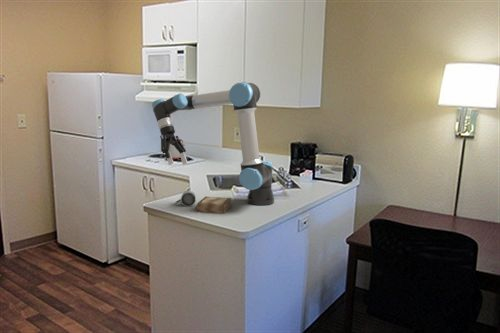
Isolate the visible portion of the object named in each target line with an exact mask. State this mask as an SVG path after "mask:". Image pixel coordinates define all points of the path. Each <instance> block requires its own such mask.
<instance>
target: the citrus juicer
mask: <svg viewBox="0 0 500 333" xmlns="http://www.w3.org/2000/svg"><path fill="white" fill-rule="evenodd" d="M179 140H180V142H181V143H182V145H183V146H184V147H185V146H186V144H184V140H183V139H181V138H179ZM169 151H170V153H171V156H172V159H179V158H180V155H179V154H180V153H179V151H178V150H177V149H176V148H175V146H174V145H172V144H170V147H169ZM169 151H168V152H169ZM179 160H180V159H179Z"/></svg>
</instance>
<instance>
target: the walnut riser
mask: <svg viewBox="0 0 500 333" xmlns="http://www.w3.org/2000/svg"><path fill="white" fill-rule="evenodd" d="M231 206H232V198H230V197H219V196H217V197H216V196H204V197H203V198H202V199H201V200H200V201H198V202H197V203H196V212H200V213H212V214H226V213H227V211H228V210H229V208H231Z"/></svg>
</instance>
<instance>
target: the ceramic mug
mask: <svg viewBox="0 0 500 333" xmlns="http://www.w3.org/2000/svg"><path fill="white" fill-rule="evenodd" d="M196 197H197V196H196V194H195V192H193V191H192V190H184V192H183V193H182V195H181V197H180V199H178V200H177V201H175V202H174V203H175V205H176V206H180V205H183V206H184V207H187V208H190V207H192V206H194V205H195V204H196Z"/></svg>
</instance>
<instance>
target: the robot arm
mask: <svg viewBox="0 0 500 333" xmlns="http://www.w3.org/2000/svg"><path fill="white" fill-rule="evenodd" d="M260 98H261V90H260V88H259V87H258V86H257V85H256V84H255V83H252V82H246V81H241V82H236V83H234V85H232V86H231V87H230V89H228V90H222V91H221V90H220V91H215V92H209V93H201V94H194V95H187V96H185V95H184V94H183V93H178V94H175V95H173V96H171V97H170V98H168V99H166V100H165V99H164V98H160V99H157V100H154V101H153V102H152V103H151V107H152V111H153V114H154V117H155V119H156V122H157V126H158V129H159V133H160V136H159V137H160V151H161V152H162V154H165V158H166V160H167V163H168V164H167V165H169V166H171V165H173V164H174V163H175V162H174V160H173V159H172V156H171V153H170V151H169V147H170V144H172V145H174V146H175V148H176V149H177V150H178V151H179V153H180V154H179V155H180V158H181V159H180V160H181V162H182V165H183V166H185V165H187V164H188V160H187V157H186V154H185V153H186V152H187V150H186V148H185V146H183V145H182V143H181V142H180V140H179V139H180V138H179V136H178V135H176V136H175V132H176V130H175V128H174V126H173V125H174V124H173V121H172V119H171V114H174V113H175V112H178V111H191V110H196V109H204V108H210V107H213V108H214V107H219V106H227V105H232V106H233V111H234V112H235V113H236V115H237V120H238V130H239V137H240V138H239V140H240V145H241V154H242V155H241V157H242V161H241V163H240V173H239V175H238V176H239V177H238V180H239V183H240V185H241V186H242V187H243V189H246V190H248V194H247V197H246V202H247V203H248V204H249V205H254V206H270V205H273V204H274V203H275V197H274V192H273V190H272V189H273V186H272V183H273V167H274V166H273V162H272V161H268V160H262V159H261V158H260V150H259V149H260V148H259V142H258V141H259V140H258V133H257V125H256V117H255V111H256V110H257V109H258V107H257V103H258V102H259V100H260ZM168 151H169V152H168Z"/></svg>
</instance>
